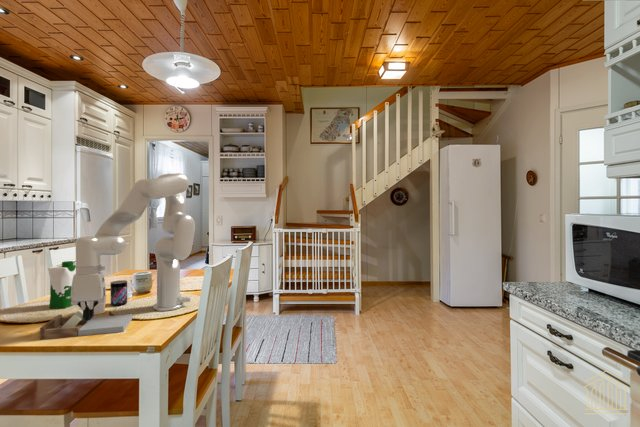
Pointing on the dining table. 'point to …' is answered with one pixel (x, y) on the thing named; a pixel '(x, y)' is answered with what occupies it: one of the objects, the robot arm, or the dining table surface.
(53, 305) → the milk carton
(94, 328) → the plate
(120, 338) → the dining table surface
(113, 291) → the supplement container
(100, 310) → the white cup
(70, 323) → the off-white flat block
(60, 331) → the box
